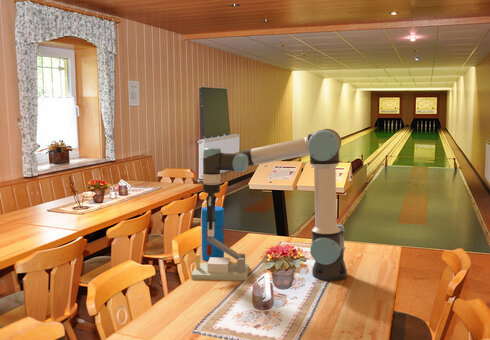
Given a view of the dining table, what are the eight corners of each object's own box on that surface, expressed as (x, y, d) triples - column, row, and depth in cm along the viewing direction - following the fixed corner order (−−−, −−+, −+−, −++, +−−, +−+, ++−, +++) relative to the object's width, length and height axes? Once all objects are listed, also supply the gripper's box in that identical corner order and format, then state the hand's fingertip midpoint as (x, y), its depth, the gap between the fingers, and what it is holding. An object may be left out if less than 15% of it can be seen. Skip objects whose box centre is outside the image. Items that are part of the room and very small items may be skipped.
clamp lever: (242, 260, 217) (244, 256, 217) (241, 263, 213) (244, 260, 213) (207, 238, 217) (209, 234, 216) (206, 241, 212) (208, 237, 212)
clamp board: (248, 267, 223) (248, 250, 222) (247, 280, 208) (247, 261, 207) (197, 266, 225) (196, 249, 224) (191, 279, 209) (191, 260, 208)
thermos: (198, 261, 232) (198, 210, 229) (205, 254, 243) (205, 205, 239) (220, 263, 230) (220, 211, 226) (226, 256, 240) (226, 206, 237)
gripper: (204, 180, 218) (204, 231, 221) (200, 185, 205) (200, 239, 208) (221, 181, 217) (220, 232, 220) (218, 186, 204) (217, 240, 208)
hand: (210, 235), depth 214 cm, fingers closed
